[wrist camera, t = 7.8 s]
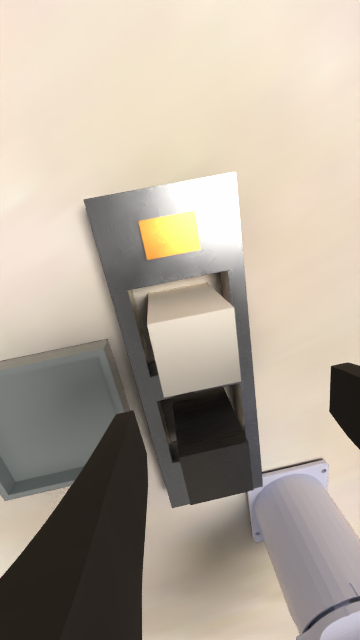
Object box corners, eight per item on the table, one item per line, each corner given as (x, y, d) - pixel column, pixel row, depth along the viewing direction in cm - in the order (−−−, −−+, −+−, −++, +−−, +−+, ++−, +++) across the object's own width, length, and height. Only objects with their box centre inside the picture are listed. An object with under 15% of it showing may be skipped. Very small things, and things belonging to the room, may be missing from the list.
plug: (213, 335, 18) (241, 381, 12) (160, 345, 18) (164, 397, 12) (206, 282, 17) (234, 307, 11) (148, 293, 17) (146, 324, 11)
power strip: (254, 465, 23) (286, 541, 17) (170, 485, 23) (176, 568, 17) (225, 179, 15) (270, 146, 9) (92, 203, 14) (54, 185, 9)
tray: (143, 453, 21) (142, 469, 20) (14, 482, 21) (4, 500, 19) (107, 339, 17) (103, 348, 16) (-52, 372, 17) (-70, 384, 15)
